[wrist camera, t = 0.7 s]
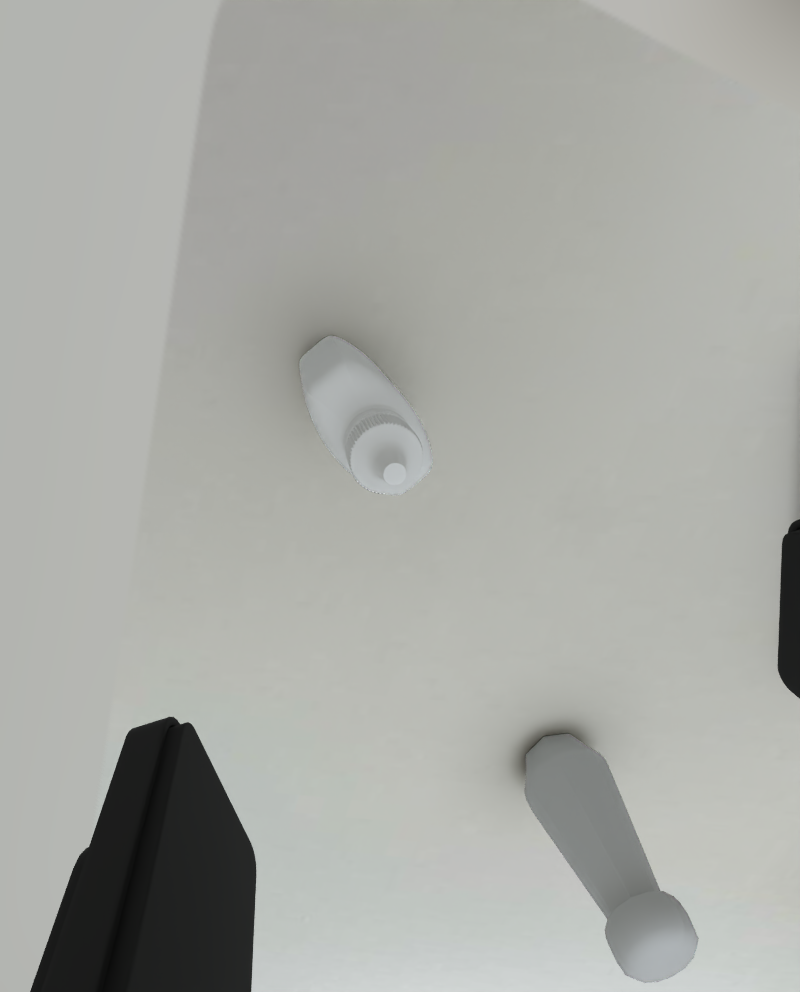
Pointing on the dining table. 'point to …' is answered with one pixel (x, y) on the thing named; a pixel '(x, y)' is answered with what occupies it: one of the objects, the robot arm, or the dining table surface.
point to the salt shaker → (608, 857)
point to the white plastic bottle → (364, 418)
